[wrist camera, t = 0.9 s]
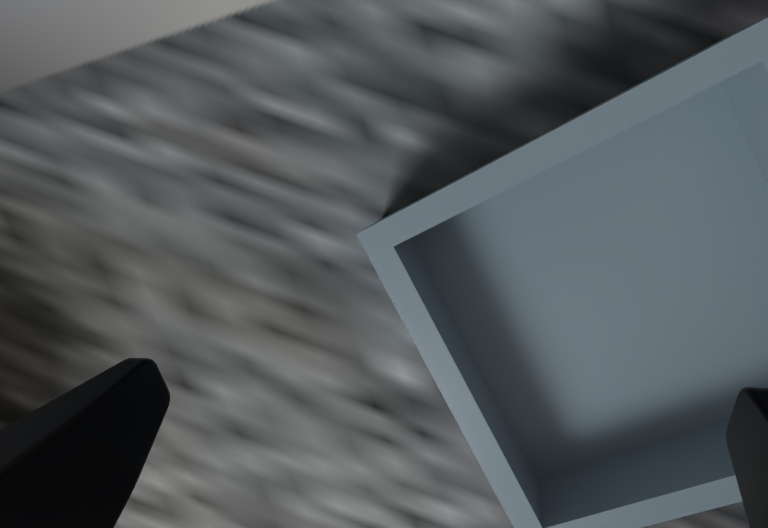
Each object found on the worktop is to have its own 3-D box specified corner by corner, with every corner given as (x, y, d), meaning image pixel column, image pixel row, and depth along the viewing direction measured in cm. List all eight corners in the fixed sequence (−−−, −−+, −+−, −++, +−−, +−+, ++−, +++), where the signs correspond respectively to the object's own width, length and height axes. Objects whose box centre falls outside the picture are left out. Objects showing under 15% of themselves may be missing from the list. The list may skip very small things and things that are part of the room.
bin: (875, 381, 19) (970, 441, 15) (524, 489, 23) (529, 557, 19) (724, 37, 17) (787, 6, 14) (381, 218, 22) (355, 234, 18)
